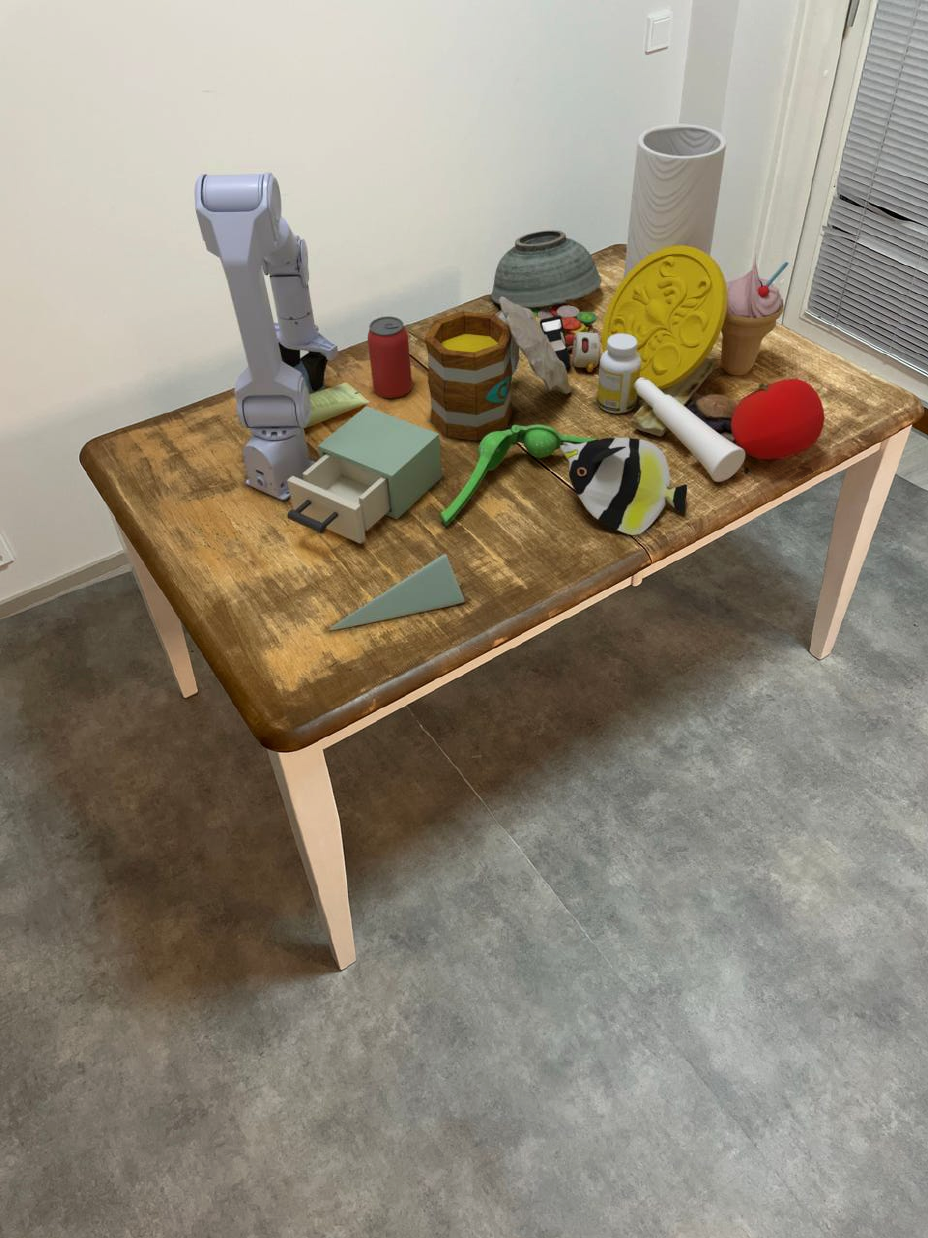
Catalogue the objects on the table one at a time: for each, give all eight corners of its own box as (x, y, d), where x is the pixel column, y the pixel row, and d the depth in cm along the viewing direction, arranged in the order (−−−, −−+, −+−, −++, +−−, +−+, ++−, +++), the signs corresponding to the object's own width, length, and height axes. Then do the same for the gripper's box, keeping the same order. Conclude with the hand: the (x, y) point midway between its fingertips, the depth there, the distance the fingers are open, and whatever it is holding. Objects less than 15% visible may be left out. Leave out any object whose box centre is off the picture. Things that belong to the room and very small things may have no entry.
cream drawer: (341, 561, 135) (335, 527, 130) (275, 530, 140) (267, 496, 135) (404, 502, 143) (401, 468, 138) (339, 475, 148) (333, 441, 143)
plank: (685, 361, 167) (687, 347, 165) (717, 370, 165) (720, 356, 163) (628, 432, 154) (629, 419, 152) (662, 443, 152) (664, 429, 150)
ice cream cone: (767, 352, 168) (791, 240, 153) (770, 388, 161) (796, 274, 146) (703, 349, 169) (721, 238, 155) (703, 384, 162) (722, 271, 147)
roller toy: (595, 355, 170) (600, 325, 166) (600, 375, 165) (605, 344, 161) (570, 355, 170) (574, 324, 165) (574, 374, 165) (578, 344, 161)
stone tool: (590, 414, 159) (519, 330, 139) (568, 424, 160) (495, 343, 140) (576, 358, 164) (506, 269, 144) (555, 368, 166) (483, 282, 145)
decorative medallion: (647, 420, 158) (640, 417, 157) (585, 332, 170) (577, 328, 169) (754, 305, 146) (747, 301, 144) (678, 219, 158) (671, 214, 157)
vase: (657, 292, 183) (678, 115, 160) (716, 321, 175) (747, 139, 152) (603, 319, 177) (617, 139, 154) (662, 350, 169) (685, 166, 146)
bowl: (511, 220, 189) (519, 271, 195) (464, 258, 175) (473, 312, 181) (612, 215, 180) (617, 269, 186) (571, 255, 166) (577, 312, 172)
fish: (576, 400, 134) (559, 498, 130) (709, 434, 136) (697, 532, 132) (554, 438, 146) (538, 529, 142) (677, 468, 148) (664, 559, 144)
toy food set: (505, 340, 174) (504, 323, 171) (544, 308, 181) (544, 291, 178) (568, 362, 168) (569, 345, 166) (607, 328, 175) (608, 311, 173)
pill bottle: (636, 393, 161) (644, 330, 153) (635, 416, 157) (643, 353, 148) (597, 391, 162) (602, 328, 153) (595, 414, 158) (600, 350, 149)
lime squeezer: (446, 528, 140) (443, 494, 135) (413, 482, 147) (410, 448, 142) (645, 461, 148) (649, 427, 144) (605, 421, 156) (608, 387, 151)
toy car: (572, 371, 166) (571, 364, 164) (549, 376, 167) (548, 369, 164) (562, 320, 169) (561, 311, 166) (539, 324, 169) (538, 317, 167)
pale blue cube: (310, 400, 163) (306, 379, 160) (291, 393, 165) (286, 371, 162) (325, 388, 165) (322, 367, 162) (307, 381, 167) (303, 360, 164)
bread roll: (673, 421, 155) (675, 401, 153) (700, 396, 160) (703, 377, 157) (732, 445, 150) (736, 425, 148) (759, 419, 155) (763, 399, 152)
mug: (480, 451, 152) (477, 367, 141) (413, 422, 157) (406, 340, 147) (550, 392, 162) (553, 309, 151) (485, 367, 168) (483, 286, 157)
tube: (260, 453, 156) (361, 412, 164) (267, 443, 151) (371, 401, 160) (243, 421, 155) (346, 382, 164) (250, 410, 151) (355, 370, 159)
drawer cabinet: (396, 519, 141) (391, 476, 136) (325, 488, 147) (317, 445, 141) (442, 477, 148) (439, 433, 142) (371, 448, 153) (366, 405, 147)
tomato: (848, 441, 140) (826, 364, 137) (758, 476, 140) (734, 401, 138) (814, 436, 152) (793, 365, 149) (731, 468, 152) (709, 399, 150)
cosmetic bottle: (743, 441, 140) (650, 359, 151) (710, 467, 140) (620, 383, 152) (747, 464, 145) (657, 382, 156) (715, 489, 145) (627, 405, 157)
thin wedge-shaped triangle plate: (353, 665, 122) (471, 593, 125) (327, 623, 123) (445, 552, 126) (354, 673, 130) (465, 605, 133) (329, 633, 131) (440, 566, 134)
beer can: (411, 399, 162) (405, 335, 154) (372, 400, 163) (364, 336, 154) (413, 377, 167) (408, 313, 158) (375, 378, 167) (367, 314, 158)
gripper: (345, 311, 153) (355, 384, 163) (276, 288, 159) (290, 360, 169) (316, 331, 150) (329, 405, 159) (247, 307, 155) (263, 380, 165)
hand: (307, 384), depth 164 cm, fingers closed on pale blue cube, 4 cm apart
